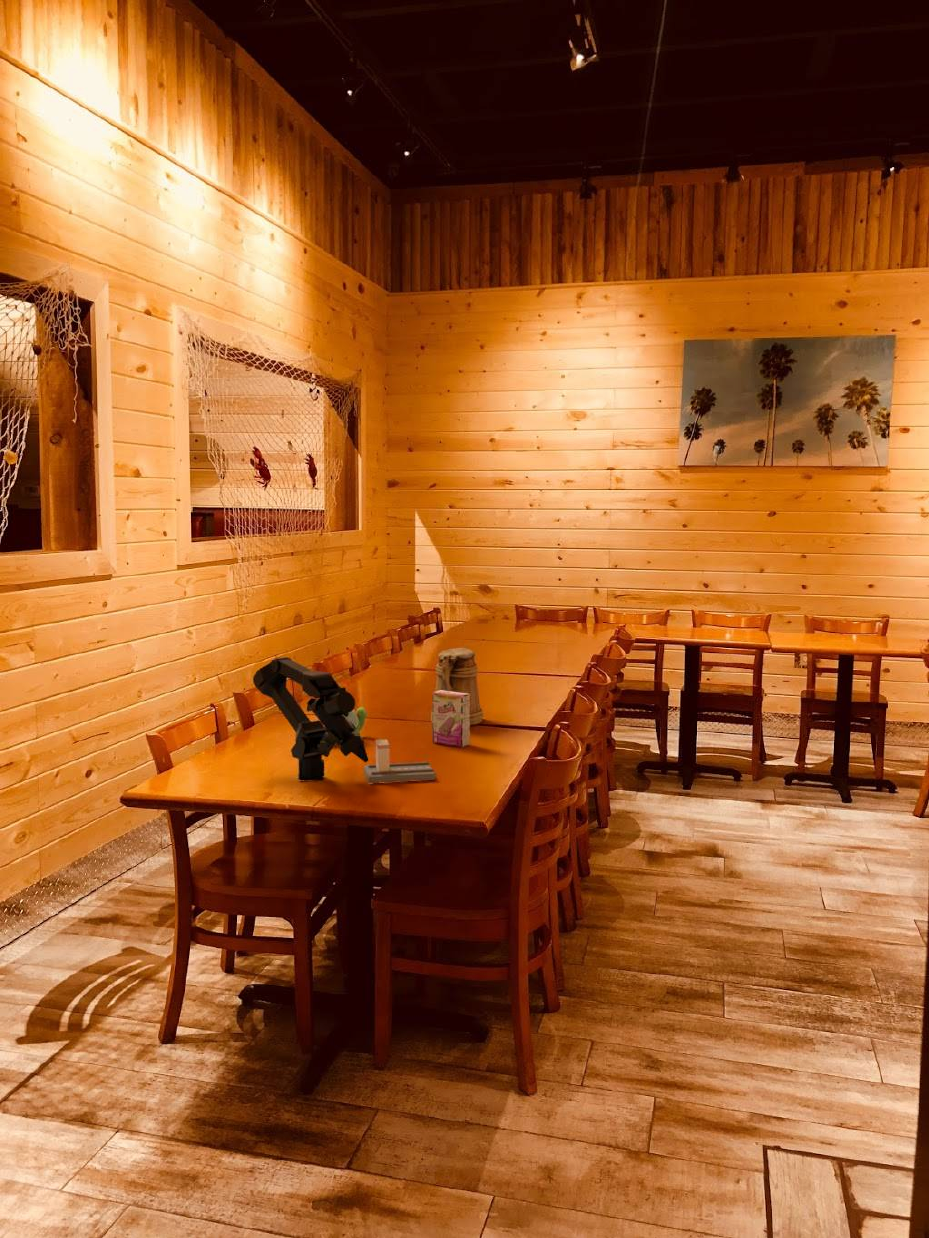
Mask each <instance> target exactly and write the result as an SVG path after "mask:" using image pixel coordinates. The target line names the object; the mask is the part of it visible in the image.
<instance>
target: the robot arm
mask: <svg viewBox="0 0 929 1238" xmlns="http://www.w3.org/2000/svg"><path fill="white" fill-rule="evenodd" d="M252 679H253V680H252V681H253V684H254V686H255V688H256V689H257V690H258V691H259V692H260V694H262V695H264V696H266V697H269V698H271V699H272V700H273V701H272V702H274V704H275V705H276V706H277V708H278V709H279V711H280V712H281V713H282V714H283V716H284V718H285V719H286V721H287V722H288V723H289V724H290V726H291V728H292V729H293V730H294V731H295V736H294V737H295V739H294V741H295V743H294V745H293V746H292V748H290V749H291V756H292V758H295V759H297V761H298V763H297V764H298V773H297V777H298V781H299V780H316V781H323V780H324V777H325V761H324V759H323V757H325V758H328V757H329V756H330V753H331V751H332V750H333V749H334V745H335V743H336V744H337V745H335V746H338V745H339V747H338V748H339V750H340V752H341V754H342V755H343V756H344V757H347V756H348V755H351V753H352V754H354V755H355V756H357V758H359V759H360V760H361V761H362V762H364V763H368V761H369V757H368V754H367V750H366V747H365V743H364V742H365V741H364V739H363V738H362V736H361V734H360V733H359V732H358V733H352V732H353V731H355V729H356V727H355V725H354V724H353V723H352V722H351V721H348V720H347V719H346V718H345V717H344V715H343V714H346V713H349V712H351V711H352V710H353V709H354V710H355V707H356V699H355V697H354V696H353V694H352V693H350V692H349V691H347V689H346V687H345V686H344V687H341V686H340V685H339V684H338V683H337V681H336V680H335V678H334V677H333V675H332V674H331V673H330V672H326V671H321V670H320V671H317V670H316V671H315V670H312V669H310V668H308V667H305V666H304V665H302V664H299V663H298V662H296V661H294V660H292V658H290V657H287V656H285V657H284V656H283V657H276V658H273V659H272V660H271V661H270V662H269V663H267V664H265V665H264V666H262V667H260V668H259V669H258V670H256V672H255V674H254V675H253V678H252ZM288 679H290V680H291V681H293V682H295V683H297V684H298V685H299V686H301V689H302V691H303V692H304V693H305V694H306V695H307V696H308V697H311V698H310V699H308V701H307V702H306V704H307V705H306V712H312V713H313V714H314V715H315V717H316V718H317V719H319V720H320V721H321V722H320V721H319V720H314V721H311V719H310V718H309V716H307V714H306V713H305V712H304V710H303V709H302V707H301V706H300V705H299V703H298V701H297V700H296V699H295V698H294V696H293V695H292V694H291V692H290V691H289V689H288V688H287V684H288V683H287V681H288ZM322 724H323V725H324V726H325V727H324V726H323V725H322Z"/></svg>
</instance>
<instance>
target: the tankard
mask: <svg viewBox="0 0 929 1238" xmlns="http://www.w3.org/2000/svg"><path fill="white" fill-rule="evenodd" d="M475 656H476V653H475V652H474V651H473V650H471V649H468V648H466V647H456V648H450V649H449V648H448V649H446V650H442V651H441V652H440V653H439V654H438V655H437V658H438V662H437V664H436V668H435V673H436V683H435V684H436V685H435V691H434V692H436V691H439V690H445V691H452V692H460V693H468V694H470V727H472V726H476V725H478V724H481V723H482V722H483V717H484V713H483V708H481V703H480V696H479V688H478V678H477V675H478V672H479V671H478V665H477V663H476V662H475V661H476V660H475ZM430 713H431V715H430V722H431V723H433V708H432V709H431V711H430Z"/></svg>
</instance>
